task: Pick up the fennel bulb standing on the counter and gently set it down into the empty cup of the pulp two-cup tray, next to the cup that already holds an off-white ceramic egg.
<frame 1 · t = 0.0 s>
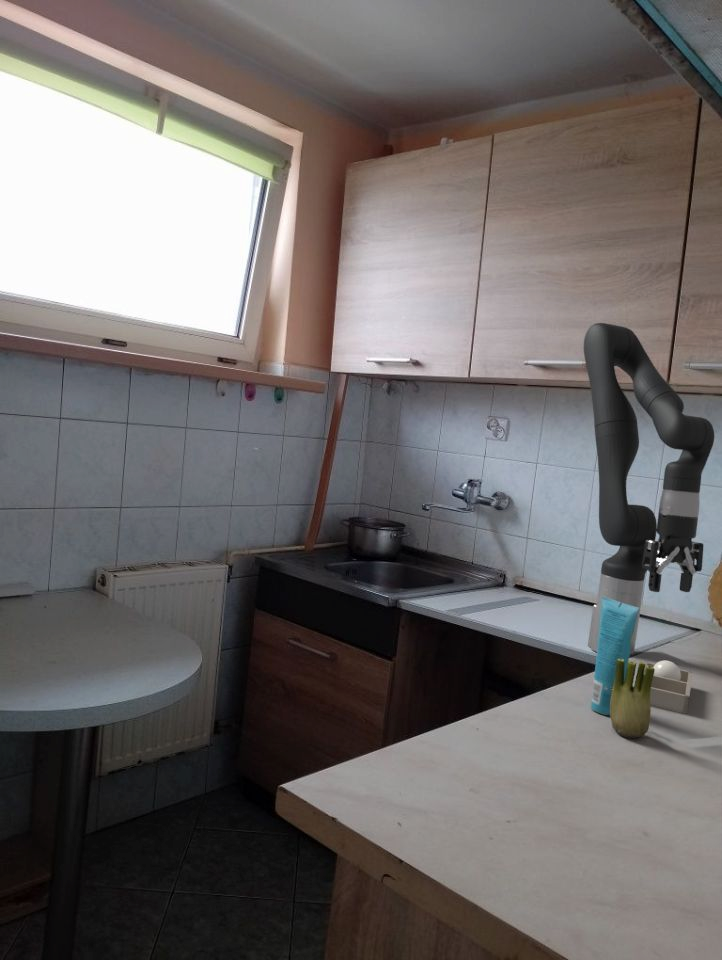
hand: (669, 591, 156), 17 cm above the table, tool pointing down, fingers open, 8 cm apart
tray: (662, 698, 140), on the table
ceramic egg: (664, 687, 144), point 1 cm above the table, touching tray
tube: (605, 711, 131), on the table
fennel bulb: (627, 735, 121), on the table
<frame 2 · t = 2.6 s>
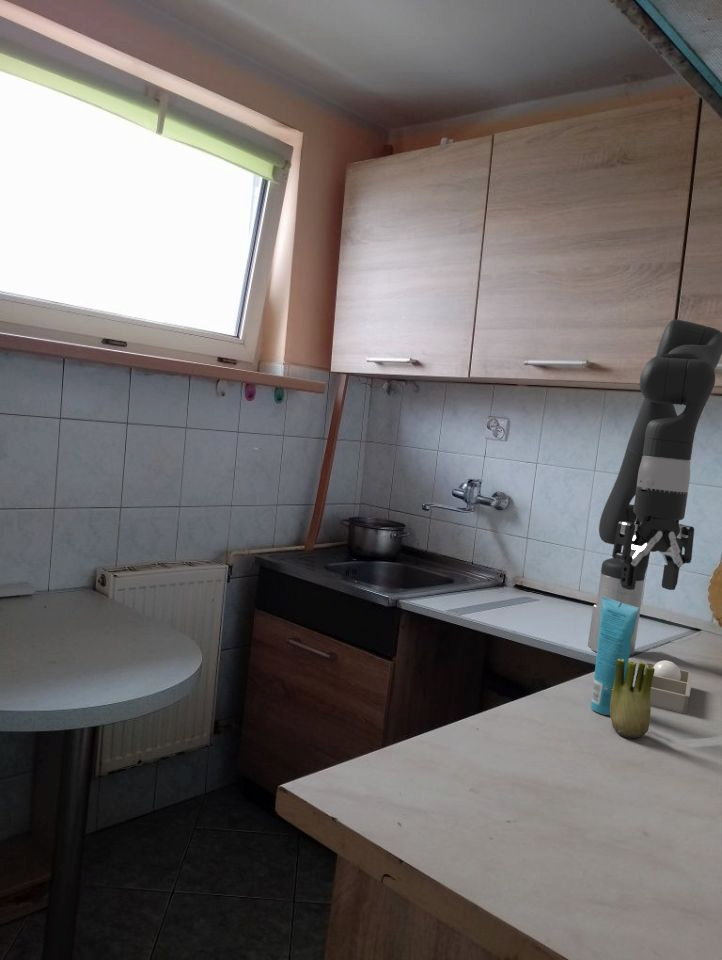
hand: (648, 588, 119), 24 cm above the table, tool pointing down, fingers open, 8 cm apart
nothing on the table moved.
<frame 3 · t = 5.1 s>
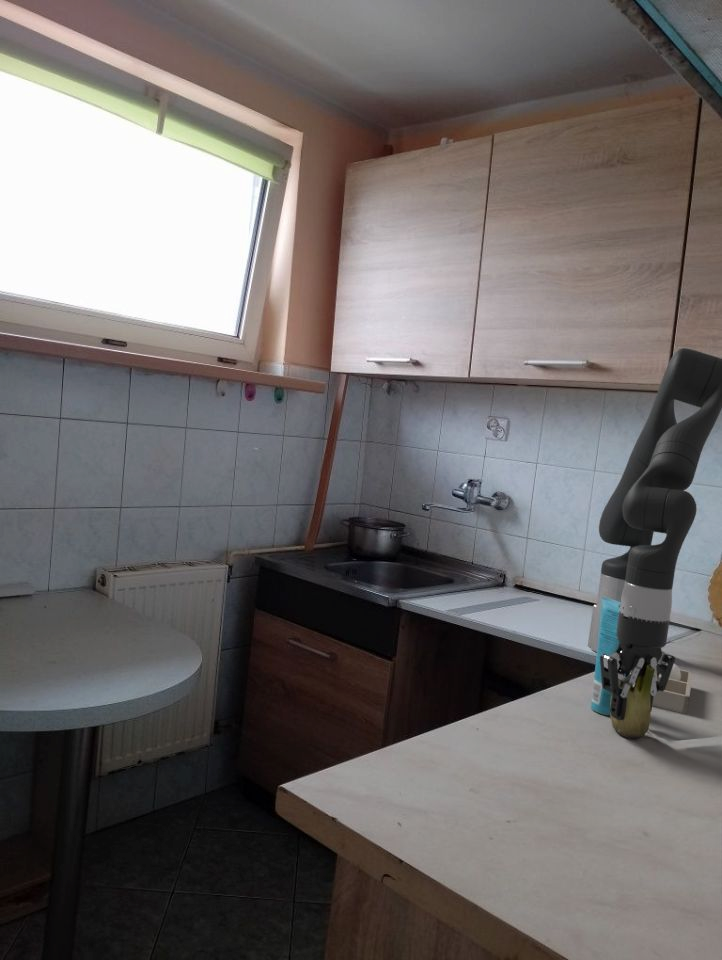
hand: (629, 716, 121), 3 cm above the table, tool pointing down, fingers closed on fennel bulb, 4 cm apart
fennel bulb: (627, 735, 121), on the table, touching gripper
everything else where it was.
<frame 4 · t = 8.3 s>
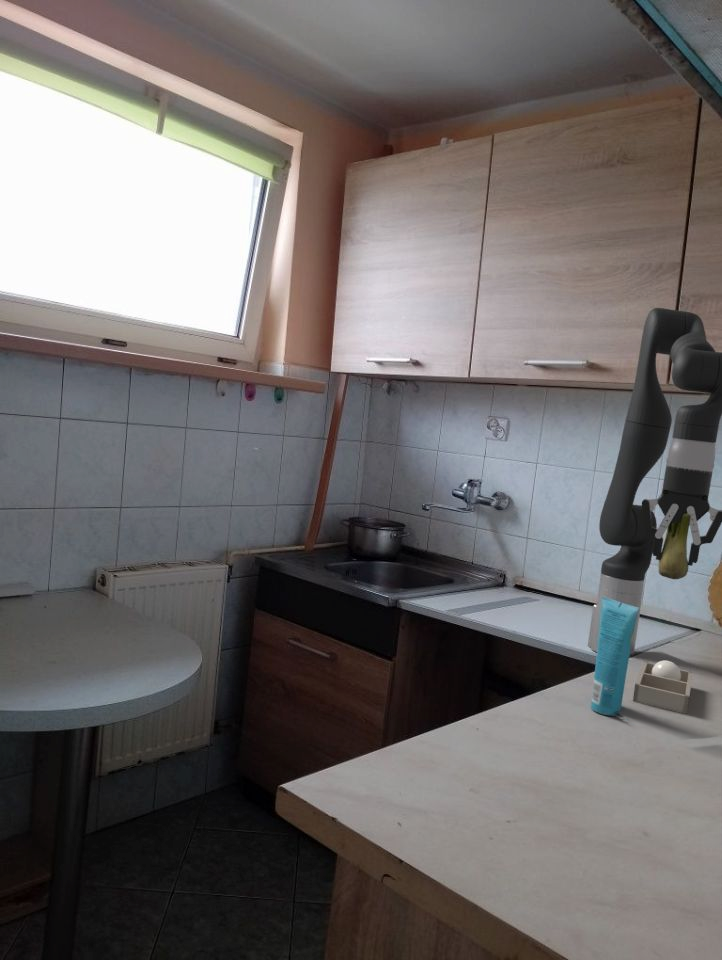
hand: (673, 561, 134), 26 cm above the table, tool pointing down, fingers closed on fennel bulb, 4 cm apart
fennel bulb: (671, 578, 134), point 23 cm above the table, touching gripper
everything else where it was.
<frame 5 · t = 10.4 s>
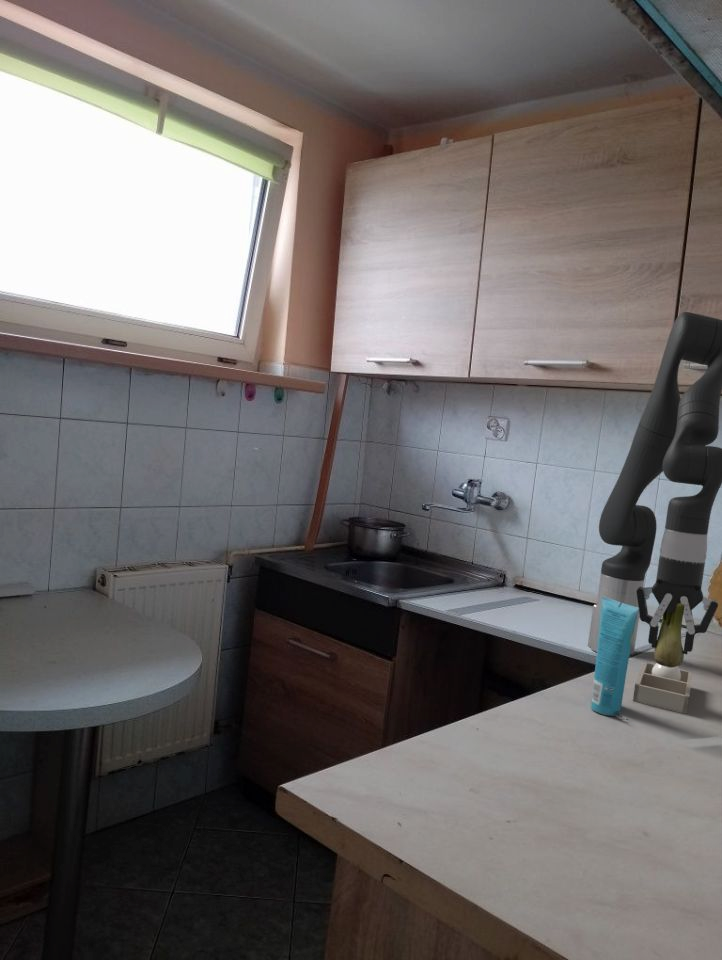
hand: (669, 649, 136), 10 cm above the table, tool pointing down, fingers closed on fennel bulb, 4 cm apart
fennel bulb: (667, 666, 136), point 7 cm above the table, touching gripper
everything else where it was.
when the fingers open (6 cm above the table, at t = 11.5 s): fennel bulb drops 2 cm, resting on tray.
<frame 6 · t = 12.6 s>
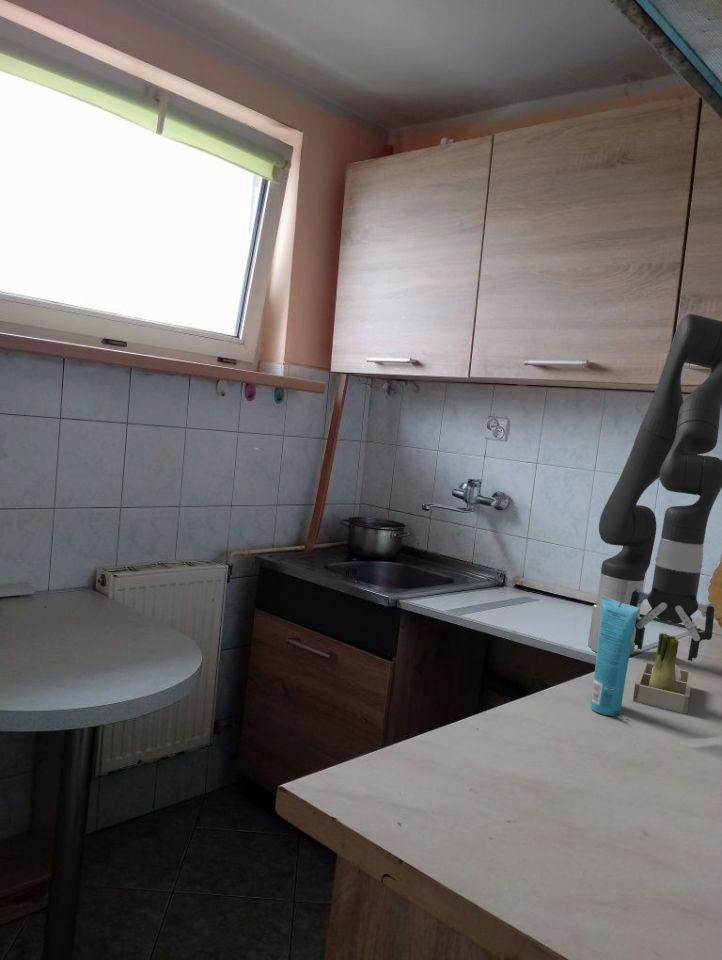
hand: (664, 653, 136), 9 cm above the table, tool pointing down, fingers open, 8 cm apart
fennel bulb: (661, 701, 137), point 1 cm above the table, touching tray
everything else where it was.
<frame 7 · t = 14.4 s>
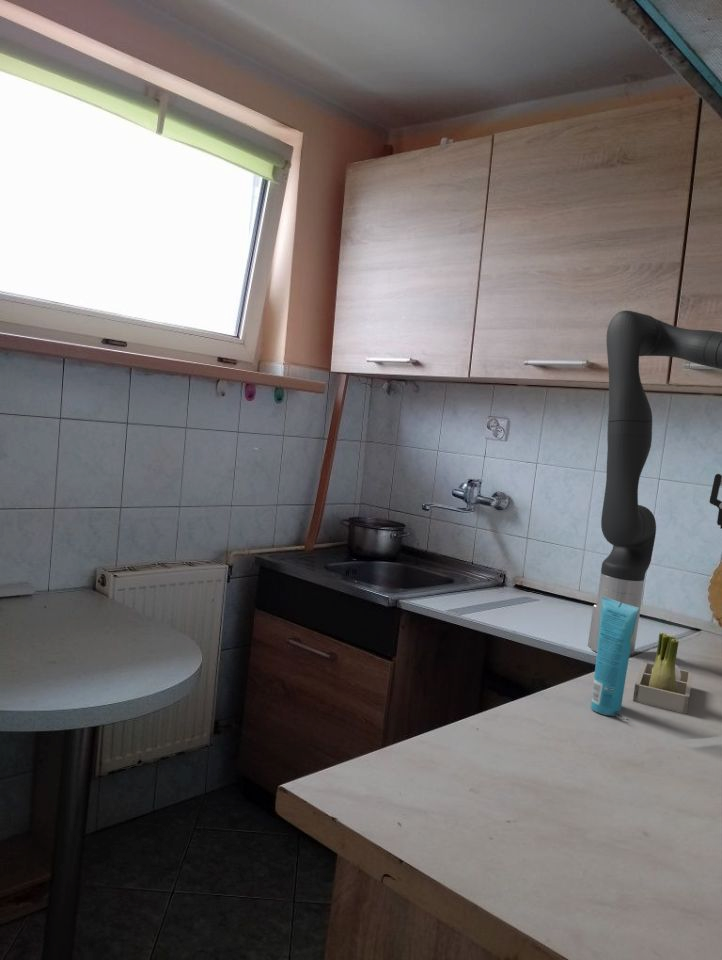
nothing on the table moved.
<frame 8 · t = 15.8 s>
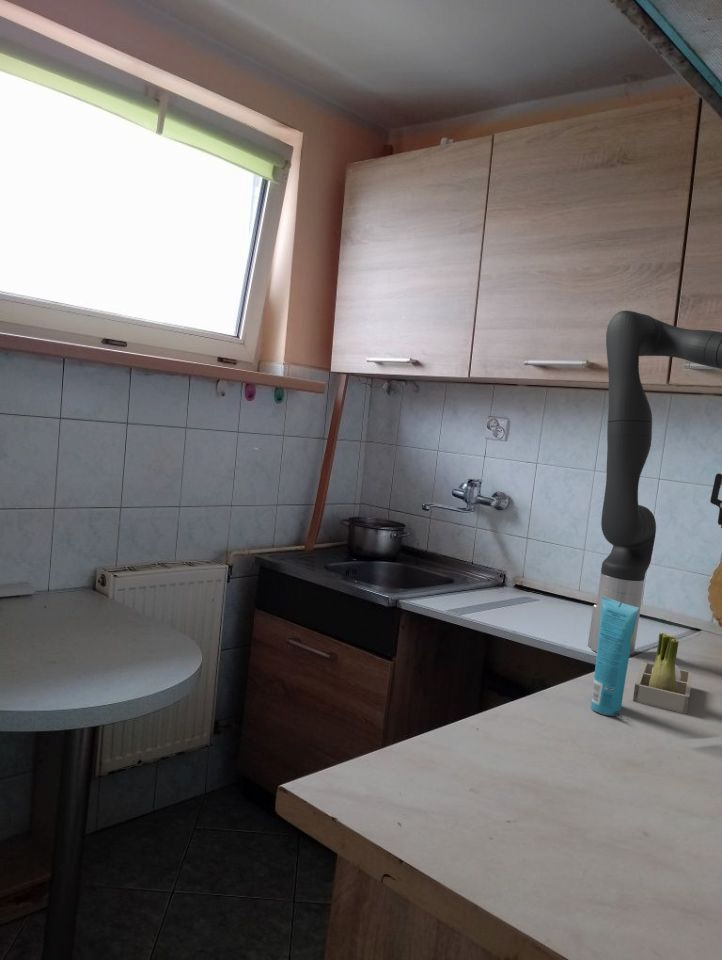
nothing on the table moved.
at the end: fennel bulb inside the target area on the tray (0.1 cm from its centre), point 0.8 cm above the tray's base; fennel bulb tilted 0°; the gripper is holding nothing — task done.
